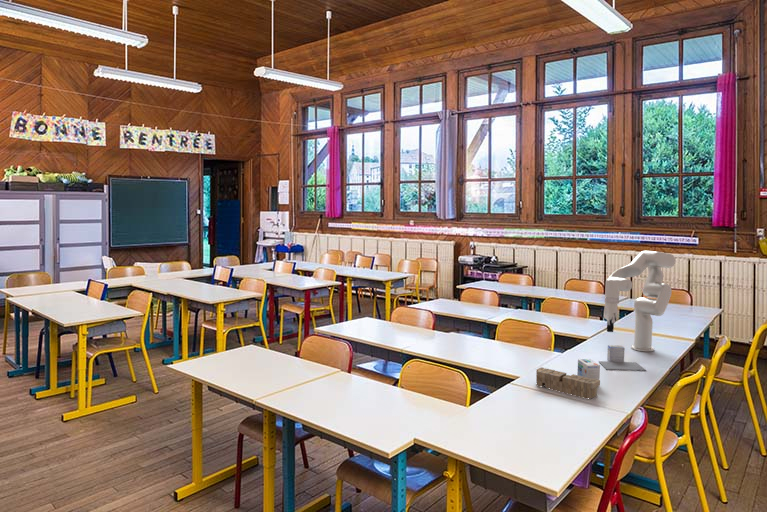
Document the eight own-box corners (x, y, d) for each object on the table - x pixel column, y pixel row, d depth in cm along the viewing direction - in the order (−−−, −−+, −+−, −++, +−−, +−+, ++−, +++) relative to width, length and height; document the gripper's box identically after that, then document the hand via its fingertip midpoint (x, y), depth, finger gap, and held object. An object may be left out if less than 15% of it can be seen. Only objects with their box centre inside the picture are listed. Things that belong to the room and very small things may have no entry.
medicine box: (621, 360, 301) (622, 345, 301) (624, 362, 297) (624, 347, 296) (606, 360, 302) (607, 345, 301) (609, 362, 298) (610, 347, 297)
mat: (598, 362, 298) (598, 361, 297) (636, 363, 296) (636, 362, 296) (606, 369, 284) (606, 368, 284) (645, 371, 282) (645, 369, 282)
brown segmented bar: (533, 387, 260) (592, 401, 239) (533, 370, 259) (592, 382, 238) (541, 383, 265) (600, 396, 245) (541, 367, 264) (600, 378, 244)
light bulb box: (576, 380, 267) (577, 359, 266) (589, 379, 268) (590, 358, 267) (586, 387, 257) (587, 365, 256) (599, 386, 257) (600, 365, 256)
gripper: (601, 298, 314) (599, 328, 316) (609, 302, 299) (607, 334, 301) (614, 298, 313) (612, 329, 315) (623, 302, 299) (621, 334, 300)
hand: (610, 331), depth 308 cm, fingers closed
